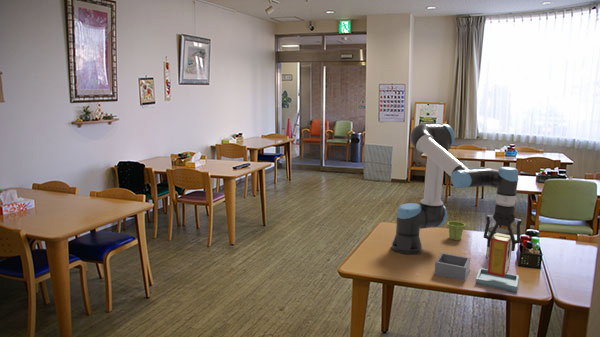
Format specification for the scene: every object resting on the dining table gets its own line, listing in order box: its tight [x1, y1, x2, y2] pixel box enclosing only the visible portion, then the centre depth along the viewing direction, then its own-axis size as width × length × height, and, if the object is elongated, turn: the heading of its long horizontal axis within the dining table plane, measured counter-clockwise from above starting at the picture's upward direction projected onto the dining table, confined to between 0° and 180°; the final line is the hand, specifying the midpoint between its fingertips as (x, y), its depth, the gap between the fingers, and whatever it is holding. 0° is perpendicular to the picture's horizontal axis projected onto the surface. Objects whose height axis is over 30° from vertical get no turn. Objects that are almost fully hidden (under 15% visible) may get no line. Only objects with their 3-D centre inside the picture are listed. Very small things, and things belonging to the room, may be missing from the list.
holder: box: [433, 252, 471, 282], centre depth 207 cm, size 13×14×6 cm
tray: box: [475, 267, 520, 293], centre depth 198 cm, size 16×13×2 cm
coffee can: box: [485, 226, 510, 259], centre depth 227 cm, size 10×10×14 cm
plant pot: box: [447, 220, 466, 241], centre depth 253 cm, size 9×9×9 cm
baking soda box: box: [487, 233, 512, 277], centre depth 195 cm, size 10×6×16 cm
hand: (499, 256), depth 196 cm, fingers closed on baking soda box, 7 cm apart
